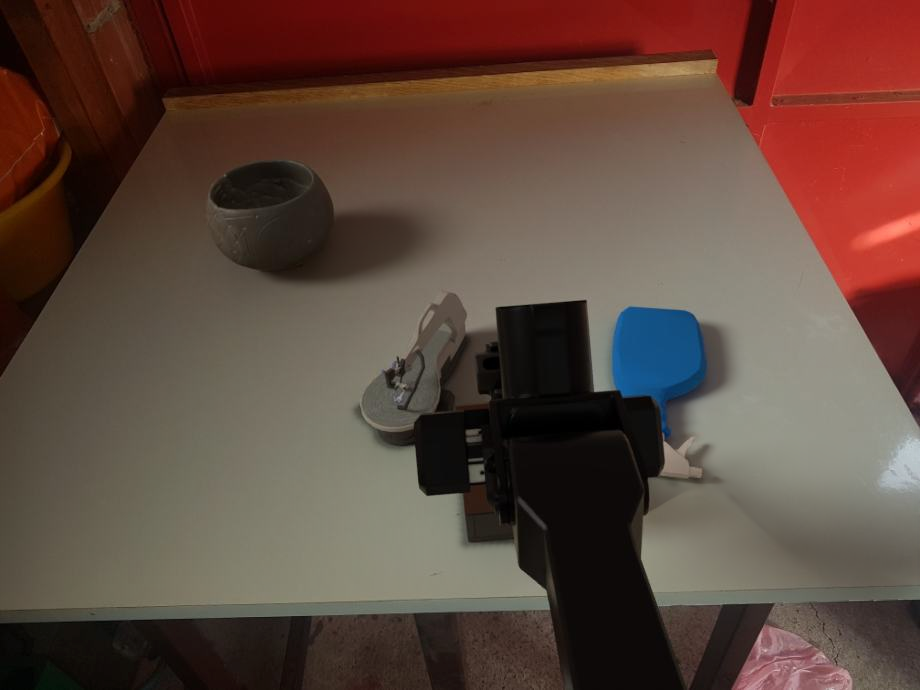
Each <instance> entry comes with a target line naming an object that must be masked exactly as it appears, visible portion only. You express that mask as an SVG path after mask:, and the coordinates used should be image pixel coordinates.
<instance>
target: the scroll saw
mask: <svg viewBox="0 0 920 690" xmlns="http://www.w3.org/2000/svg"><path fill="white" fill-rule="evenodd" d="M467 318H468V313H467V310H466V309H465V307H464V305H463V303H462V301H461V299H460V297H459V296H458V295H457V294H456V293H455V292H449V291H447V290H441V291H440V292H439V293H438V294H437V296H436V298H435V299H434V301H433V302H430V303H428V304H427V306H426V307H425V308H424V310H423V312H422V313H421V315H420V317H419V319H418V321H417V323H416V326H415V330H414V335H413V336H412V339H411V341H410V342H409V344H408V345H407V348H406V350H405V352H404V354H403V356H402V357H401V359H400V357H399V355H397V356H396V360H394V361H393V362H392V363H391V364H392V365H391V366H390V367H388V368H387V369H381V370H380V373H379V374H378V375H377V376H376V377H374V378H372V380H371V381H370V382H369V383H368V385H366V387H365V388H364V390H363V392H362V394H361V396H360V400H359V401H360V402H359V404H360V405H359V406H358V408H359V411H360V413H361V415H362V417H363V418H364V420H365V421H366V422H367V423H368V424H369V425H370V426H372V428H376V431H377V434H378V437H379V439H380V440H381V441H383V442H384V443H386V444H389V445H391V446H397V447H401V446H403V447H404V446H407V445H410V444H411V443H415V439H414V422H415V421H416V419H417V418H418V417H419V416H420V415H421V414H422V413H430V412H442V411H453V409H454V408H455V405H456V394H455V393H454V391H452V390H451V389H447V388H443V387H442V385H443V384H444V383H445V382H446V381H447V380H448V378H449V377H450V375H451V374H452V372H453V370H454V368H455V366H456V364H457V362H458V359H459V357H460V355H461V353H462V352H463V350H464V348H465V346H466V344H467V342H468V339H467V337H468V336H467V334H466V321H467Z"/></svg>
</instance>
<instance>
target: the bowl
mask: <svg viewBox="0 0 920 690" xmlns="http://www.w3.org/2000/svg"><path fill="white" fill-rule="evenodd" d="M205 219H206V223H207V228H208V233H209V236H210V238H211V240H212V242H213V243H214V246H216V247H217V249H218V251H220V252H221V253H222V255H224V256H225V258H227V259H228V260H230V261H231V262H232V263H234V264H236V265H239V266H241V267H245V268H248V269H250V270H256V271H264V272H265V271H269V272H271V271H275V272H276V271H284V270H288V269H291V268H294V267H297V266H299V265H301V264H303V263H305V262H307V261H308V260H310V259H311V258H313V257H314V256H315V255H316V254H317V253H319V251H321V249H322V248H323V247H324V246H325V245H326V243H327V242H328V241H329V238H330V236H331V235H332V232H333V228H334V223H335V210H334V202H333V200H332V196H331V195H330V192H329V190H328V188H327V187H326V185H325V183H324V182H323V180H322V179H321V177H320V176H319V174H317V173H316V172H315V171H314V170H313V169H312V168H311V167H310V166H308V165H307V164H305V163H303V162H301V161H297V160H293V159H288V158H287V159H286V158H269V159H267V158H266V159H261V160H256V161H251V162H248V163H247V162H246V163H243V164H241V165H238V166H235V167H233V168H231V169H229V170H228V171H226V172H225V173H224V174H223V175H220V176H219V177H218V178H217V179H215V180H214V181H213V183H212V184H211V185H210V187H209V190H208V194H207V198H206V204H205Z"/></svg>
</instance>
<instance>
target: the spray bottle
mask: <svg viewBox="0 0 920 690" xmlns="http://www.w3.org/2000/svg"><path fill="white" fill-rule="evenodd" d="M705 348H706V347H705V341H704V336H703V333H702V329H701V325H700V322H699V321H698V319H697V317H696V315H695V314H694V313H692V312H690V311H688V310H685V309H674V308H660V307H659V308H657V307H644V306H631V305H630V306H628V307H626V308H625V309H623V310H622V311H621V312H620V313H619V314H618V317H617V319H616V323H615V328H614V334H613V339H612V351H611V356H612V357H611V365H612V366H611V370H612V371H611V372H612V378H613V384H614V388H615V390H620V391H621V394H622V396H631V395H642V394H645V395H649V396H651V397H652V398H654V399H655V400H656V401H657V402H658V405H659V408H660V411H661V422H662V433H663V445H664V456H665V464H664V469H663V470H662V471H661V473H660V474H659V476H664V477H671V478H679V479H689V478H696V479H702V476H703V468H701V467H696V466H691V465H690V462H689V461H688V459H687V458H686V455H687V453H688V450H689V448H690V446H691V444H692V443H693V442H694V441H695V437H694V436H691V437H690V438H688V439H687V440H686V441H685V442H684V443H683V444H682V445H681V446H680V447H679V448H678V449H674V448H673V447H672V446H670V444H669V443H667V442H666V441H665V440H666V439H667V438H668V437H671V436H672V430H671V428H670V427H669V426H668V424H667V420H668V414H667V412H666V409H667V403H666V402H667V401H670V400H673V399H675V398H678V397H681V396H684V395H686V394H688V393H690V392H691V391H693V390H694V389H695V388H697V387H699V386H700V385H701V384H702V382H703V381H704V380H705V378H706V372H707V356H706V349H705Z"/></svg>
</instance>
